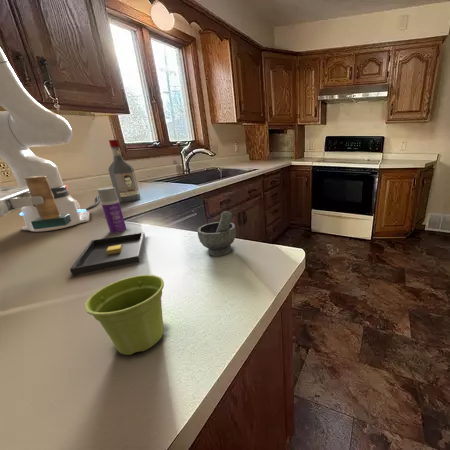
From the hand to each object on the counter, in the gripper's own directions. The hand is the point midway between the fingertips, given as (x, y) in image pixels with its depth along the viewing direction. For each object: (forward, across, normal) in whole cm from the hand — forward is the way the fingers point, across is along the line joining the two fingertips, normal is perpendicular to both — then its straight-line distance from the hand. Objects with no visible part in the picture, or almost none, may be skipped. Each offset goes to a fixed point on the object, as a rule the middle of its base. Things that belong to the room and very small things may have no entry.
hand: (48, 197), depth 59 cm
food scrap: (+10, -2, +16) cm, 19 cm away
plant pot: (+19, -42, +17) cm, 49 cm away
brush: (-1, 0, +7) cm, 7 cm away
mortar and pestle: (+36, -16, +17) cm, 43 cm away
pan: (+10, -3, +17) cm, 20 cm away
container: (+8, +18, +17) cm, 26 cm away
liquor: (+5, +74, +17) cm, 76 cm away
